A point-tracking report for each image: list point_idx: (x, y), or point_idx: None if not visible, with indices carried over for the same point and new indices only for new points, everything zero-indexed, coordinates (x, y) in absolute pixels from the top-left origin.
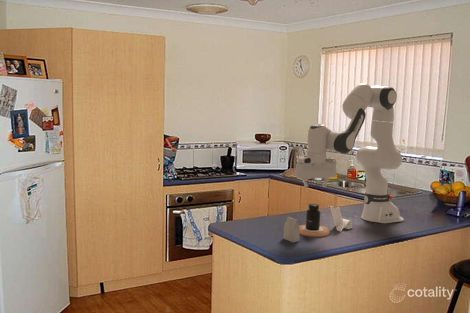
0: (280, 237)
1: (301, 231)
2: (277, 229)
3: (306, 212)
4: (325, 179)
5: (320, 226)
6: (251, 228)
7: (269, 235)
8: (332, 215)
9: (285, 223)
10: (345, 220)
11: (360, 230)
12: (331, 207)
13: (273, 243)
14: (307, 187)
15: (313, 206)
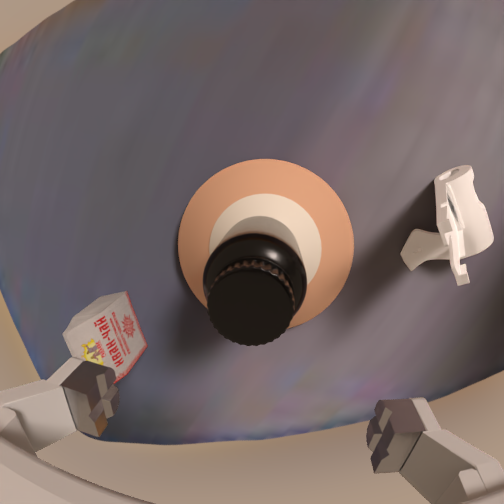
0: (93, 281)
1: (185, 274)
2: (116, 162)
3: (204, 269)
4: (445, 490)
5: (333, 214)
6: (35, 134)
7: (63, 244)
8: (436, 199)
9: (71, 324)
10: (472, 236)
11: (484, 276)
12: (440, 233)
13: (61, 334)
14: (110, 400)
15: (228, 336)
